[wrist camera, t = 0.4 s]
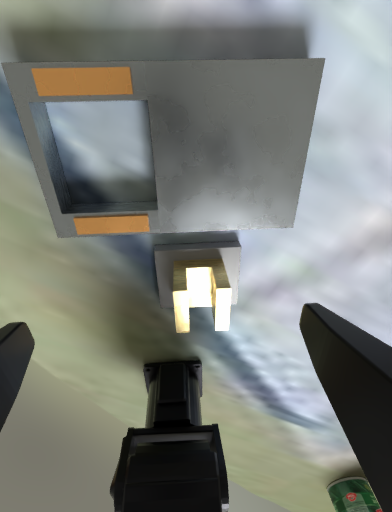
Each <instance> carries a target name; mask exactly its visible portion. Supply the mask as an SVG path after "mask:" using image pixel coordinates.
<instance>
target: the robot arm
mask: <svg viewBox="0 0 392 512" xmlns="http://www.w3.org/2000/svg"><path fill="white" fill-rule="evenodd" d="M299 325H300V330H301V333H302V336H303V338H304V341H305V344H306V347H307V350H308V352H309V355H310V358H311V361H312V364H313V366H314V369H315V371H316V374H317V376H318V378H319V380H320V382H321V384H322V386H323V389H324V391H325V393H326V395H327V397H328V399H329V401H330V403H331V405H332V407H333V409H334V411H335V413H336V416H337V418H338V420H339V422H340V424H341V426H342V428H343V430H344V432H345V434H346V436H347V438H348V440H349V443H350V445H351V447H352V449H353V451H354V453H355V455H356V457H357V459H358V461H359V463H360V465H361V467H362V469H363V472H364V474H365V476H366V478H367V480H368V482H369V484H370V486H371V488H372V490H373V492H374V494H375V496H376V499H377V501H378V503H379V505H380V507H381V509H382V511H383V512H392V347H391V346H389V345H387V344H386V343H384V342H382V341H381V340H379V339H377V338H375V337H374V336H372V335H370V334H369V333H367V332H365V331H364V330H362V329H360V328H359V327H357V326H355V325H354V324H352V323H350V322H349V321H347V320H345V319H343V318H342V317H340V316H338V315H337V314H335V313H333V312H332V311H330V310H328V309H327V308H325V307H323V306H322V305H320V304H318V303H306V304H304V306H303V309H302V313H301V318H300V323H299ZM34 345H35V343H34V339H33V336H32V334H31V332H30V330H29V328H28V326H27V324H26V323H25V322H13V323H9V324H7V325H6V326H4V327H2V328H1V329H0V432H1V429H2V427H3V425H4V423H5V421H6V418H7V416H8V414H9V412H10V410H11V408H12V406H13V403H14V401H15V399H16V397H17V394H18V392H19V389H20V387H21V384H22V381H23V378H24V375H25V372H26V369H27V366H28V364H29V361H30V358H31V355H32V352H33V349H34ZM143 371H144V376H145V381H146V387H147V392H148V404H147V414H146V424H145V428H134V427H132V428H128V432H127V436H126V437H124V438H123V442H122V448H121V454H120V459H119V462H118V465H117V468H116V471H115V474H114V477H113V480H112V483H111V487H110V495H111V496H112V498H113V499H114V507H115V512H228V509H229V494H228V480H227V472H226V465H225V460H224V455H223V449H222V444H221V439H220V433H219V428H218V424H212V425H202V418H201V405H200V397H202V363H201V362H200V361H186V362H170V363H155V364H146V365H144V369H143Z"/></svg>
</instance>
